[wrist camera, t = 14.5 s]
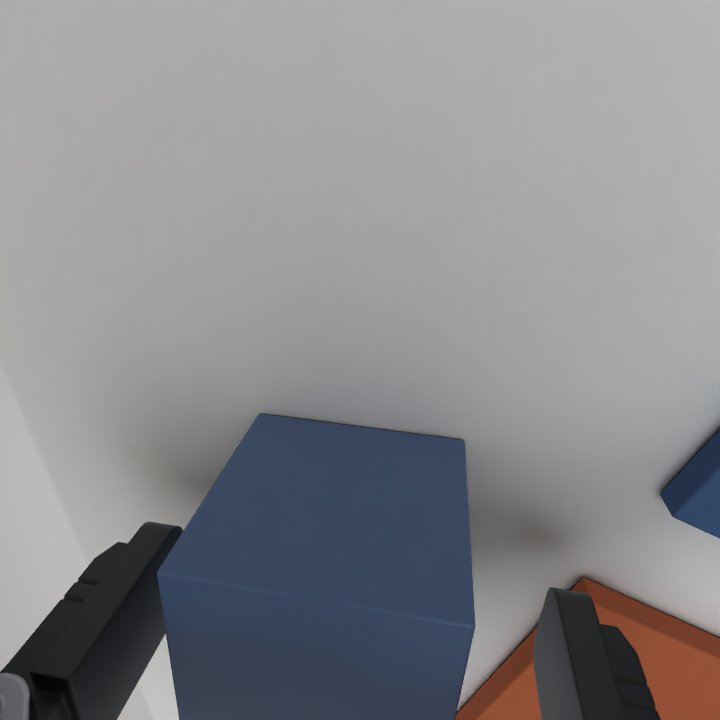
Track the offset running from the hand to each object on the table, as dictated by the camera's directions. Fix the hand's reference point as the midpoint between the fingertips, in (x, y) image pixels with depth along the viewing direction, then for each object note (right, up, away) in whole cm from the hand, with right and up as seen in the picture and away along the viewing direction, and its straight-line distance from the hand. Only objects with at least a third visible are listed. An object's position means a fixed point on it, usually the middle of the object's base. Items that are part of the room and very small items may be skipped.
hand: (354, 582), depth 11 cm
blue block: (0, +1, +2) cm, 2 cm away
